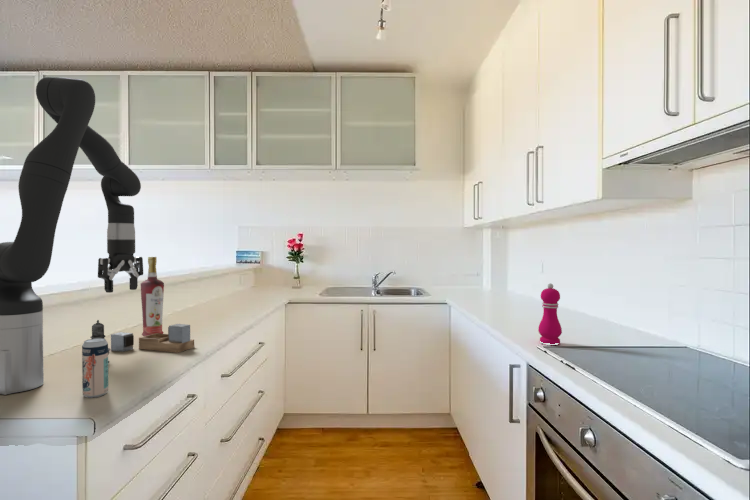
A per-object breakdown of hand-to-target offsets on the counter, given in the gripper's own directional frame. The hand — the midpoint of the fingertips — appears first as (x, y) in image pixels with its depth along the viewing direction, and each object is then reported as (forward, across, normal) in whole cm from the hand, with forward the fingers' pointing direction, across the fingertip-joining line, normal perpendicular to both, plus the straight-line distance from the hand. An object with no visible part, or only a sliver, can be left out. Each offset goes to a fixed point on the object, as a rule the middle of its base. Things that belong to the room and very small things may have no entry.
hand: (121, 291), depth 137 cm
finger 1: (+18, 0, 0) cm, 18 cm away
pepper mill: (+18, +52, -126) cm, 138 cm away
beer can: (+18, -33, -29) cm, 48 cm away
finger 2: (+16, +6, -16) cm, 24 cm away
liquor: (+18, +17, +5) cm, 25 cm away
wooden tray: (+18, +6, -12) cm, 22 cm away
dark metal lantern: (+18, -14, -7) cm, 24 cm away
